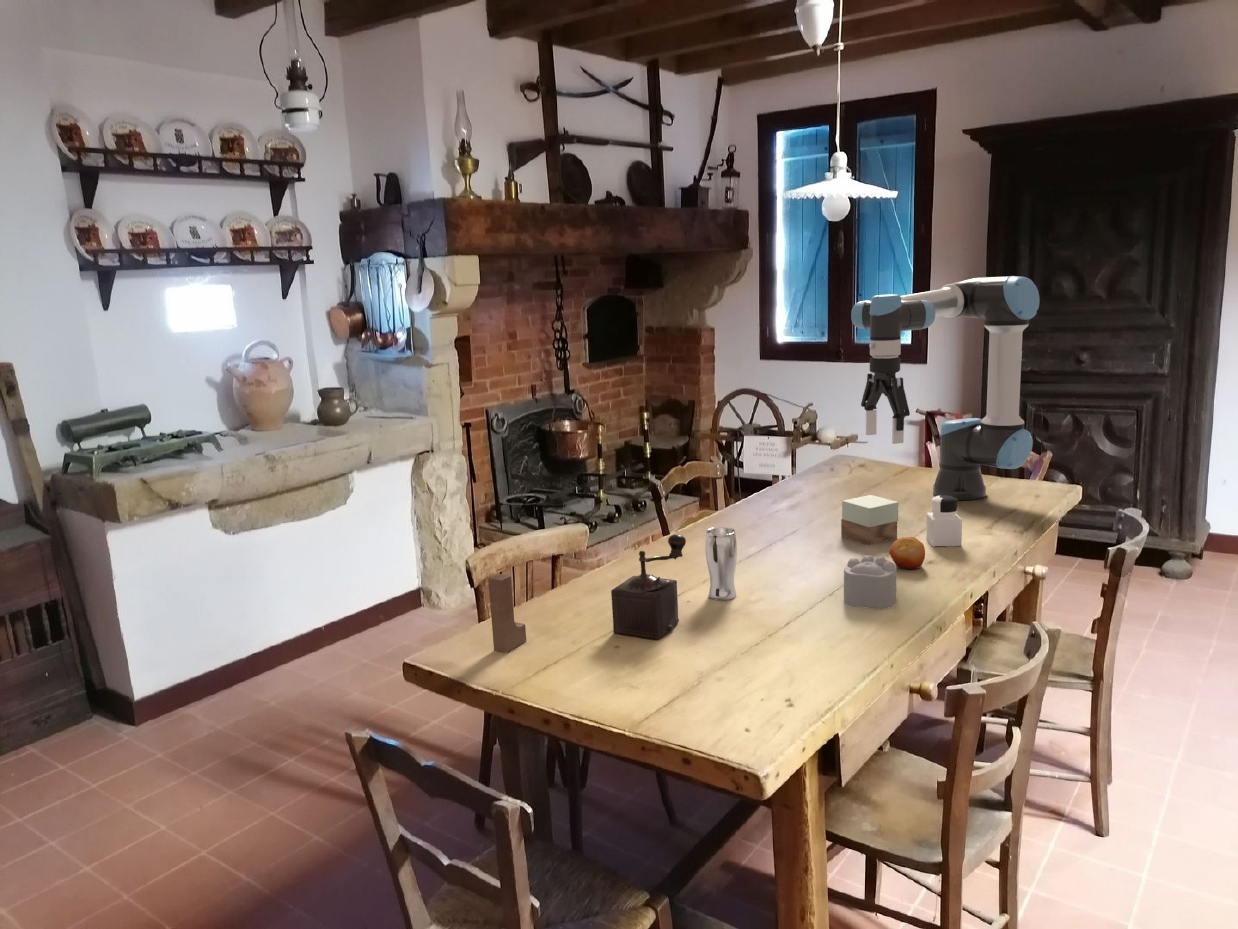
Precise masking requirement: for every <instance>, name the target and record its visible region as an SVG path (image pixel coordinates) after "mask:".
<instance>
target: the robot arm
mask: <svg viewBox="0 0 1238 929" xmlns="http://www.w3.org/2000/svg"><path fill="white" fill-rule="evenodd" d="M1039 307H1040V294H1039V290H1038V287H1037V286H1036V284H1034V281H1033V280H1032V279H1030V278H1028V277H1025V276H1016V275H1010V276H990V277H989V276H980V277H973V278H969V279H965V280H961V281H957V282H953V283H948V284H944V285H943V286H941V287H940V288H939V289H934V290H928V291H924V292H923V291H922V292H918V293H911V294H905V295H900V294H879V295H878V294H877V295H873V296H872V297H871V298H870V300H868V299H867V300H860V301H858V302H856V303H854V305H853V306H852V309H851V314H850V317H851V323H852V324H853V325H854V326H855V328H857V329H862V330H863V329H864V330H869V332H870V333H869V334H870V335H869V336H870V337H869V345H868V347H869V355H870V356H871V357H870V358H869V373H867V376H866V383H865V384H866V385H865V387H864V390H863V391H864V392H863V395H862V399H861V403H860V406H861V407H862V408H864V410H865V436H874V435H877V423H878V422H877V419H878V418H877V416H878V415H877V414H878V412H877V410H878V408H877V404H878V402H879V400H880V399H881V396H882V394H883V395H884V396H885V397H887V398H886V399H887V400H888V402H889V405H890V407H891V410H892V413H893V415H892V417H891V418H892V420H891V422H892V429H891V431H892V436H891V441H892V442H891V444H892V445H895V444H904V442H905V441H904V436H905V435H904V434H905V418H906V417H909V416H910V415H911V413H910V409H909V408H910V407H909V403H908V399H907V395H906V392H905V386H904V378H903V377H896V373H899V372H900V371H901V357H900V355H901V353H902V352H901V350H902V348H901V346H902V345H901V342H902V341H901V340H902V338H901V337H902V332H904V331H905V332H907V331H917V330H918V331H921V330H925V329H927V328H928V329H929V327H931V326H932V325H933V323H934V322H935V318H939V317H944V318H949V319H951V318H953V319H954V318H971V319H983V321H984V322H983V326H984V328H985V329H986V330H987V331H988V332H989V335H988V336H989V341H988V360H987V361H988V367H987V390H986V391H987V394H986V395H987V396H986V415H985V416H984V417H983V418H979V417H973V418H972V417H968V418H957V419H950V420H946V421H944V422H942V423H941V425H940V432H939V469H938V472H937V475H936V479H935V480H934V481H935V482H934V484H933V486H932V494H933V495H934V497H936V496H940V495H947V496H952V497H954V498H956V499H957V501H971V500H973V501H974V500H977V499H982V498H985V497H986V496H987V487H986V485H985V483H984V477H983V474H982V471H981V465H982V466H988V467H994V468H998V469H1001V470H1003V469H1006V470H1007V469H1008V470H1015V469H1018V468H1020V467H1021V466H1023V465H1024V464H1025V463H1026V461H1027V460H1028V458H1030V455H1031V452H1032V449H1033V444H1034V442H1033V441H1034V440H1033V436H1032V433H1031V432H1030V431H1029V430H1026V429H1025V420H1024V419H1022V418H1021V416H1020V396H1021V375H1022V372H1021V371H1022V355H1023V354H1022V352H1023V350H1022V349H1023V332H1024V330H1025V329H1027V328H1028V327H1029V324H1030V320H1031V319H1032V318H1034V317H1035V316H1036V315H1037V313H1038V312H1037V311H1038V310H1039Z"/></svg>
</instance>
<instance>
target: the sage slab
mask: <svg viewBox="0 0 1238 929" xmlns="http://www.w3.org/2000/svg"><path fill="white" fill-rule="evenodd" d="M841 504H842V505H841V518H842V519H843V520H847V521H850V522H853V523H857V524H860V525H863V526H866V527H873V526H877V525H882V524H886V523H890V522H895V521H897V522H898V521H899V501H896V500H891V499H889V498H883V497H880V496H876V495H873V494H868V495H864V496H858V497H854V498H849V499H844V500H842V503H841Z"/></svg>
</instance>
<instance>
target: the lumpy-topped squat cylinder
mask: <svg viewBox="0 0 1238 929" xmlns="http://www.w3.org/2000/svg"><path fill="white" fill-rule="evenodd" d="M897 568H898V567H897V566H896V564H895V563H894V561H893V562H892V561H891V560H888V559H886V558H885V557H884V555H883V556H882V555H880V556H877V557H876V556H874V557H873V556H872V555H870V554H867V555H864V556H863V557H861V558H855V557H852V558H850V559H848V561H847V564H846V565H845V567H844V569H843V602H844V604H845V605H847V606H848V607H854V608H867V609H872V610H885V608H886V609H889V608H891V607H892V606H893V605H894V604H895V603H896V600H897V570H898V569H897ZM893 603H894V604H893ZM888 607H889V608H888Z"/></svg>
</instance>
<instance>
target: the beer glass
mask: <svg viewBox="0 0 1238 929" xmlns="http://www.w3.org/2000/svg"><path fill="white" fill-rule="evenodd" d="M704 540H705V541H704V543H705V545H704V546H705V547H704V548H705V550H704V551H705V559H706V565H707V569H708V574H709V591H708V597H709V598H710V599H712V600H714V601H715V600H716V601H729V600H730V601H731V600H732V599H735V598H737V590H736V586H735V573H736V566H737V560H738V541H737V540H738V539H737V532H736V529H735V528H733V527H730V526H729V527H727V526H715V527H710V528H708V529H706V530H705V539H704Z"/></svg>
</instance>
